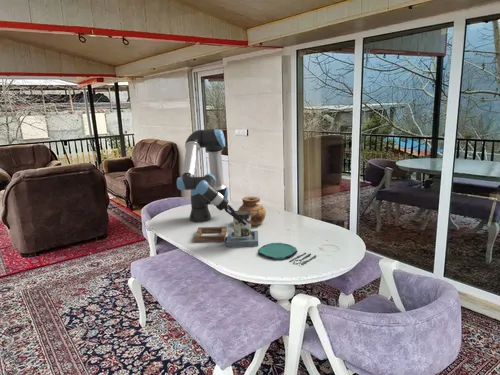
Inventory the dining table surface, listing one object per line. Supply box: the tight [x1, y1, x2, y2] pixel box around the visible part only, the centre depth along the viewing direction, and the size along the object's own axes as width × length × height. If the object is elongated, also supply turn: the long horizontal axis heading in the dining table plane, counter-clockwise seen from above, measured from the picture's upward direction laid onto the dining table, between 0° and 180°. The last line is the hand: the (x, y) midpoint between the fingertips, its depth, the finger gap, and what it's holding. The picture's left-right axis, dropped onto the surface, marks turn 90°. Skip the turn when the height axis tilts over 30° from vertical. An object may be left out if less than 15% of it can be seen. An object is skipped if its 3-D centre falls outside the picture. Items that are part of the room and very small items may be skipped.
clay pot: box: [237, 196, 267, 226], centre depth 247 cm, size 19×19×20 cm
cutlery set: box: [257, 242, 317, 266], centre depth 196 cm, size 20×30×2 cm, turn 47°
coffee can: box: [232, 209, 252, 238], centre depth 216 cm, size 10×10×14 cm
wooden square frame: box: [193, 226, 228, 243], centre depth 227 cm, size 18×18×3 cm
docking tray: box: [226, 230, 259, 248], centre depth 218 cm, size 18×18×3 cm
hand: (247, 224), depth 217 cm, fingers closed on coffee can, 10 cm apart
